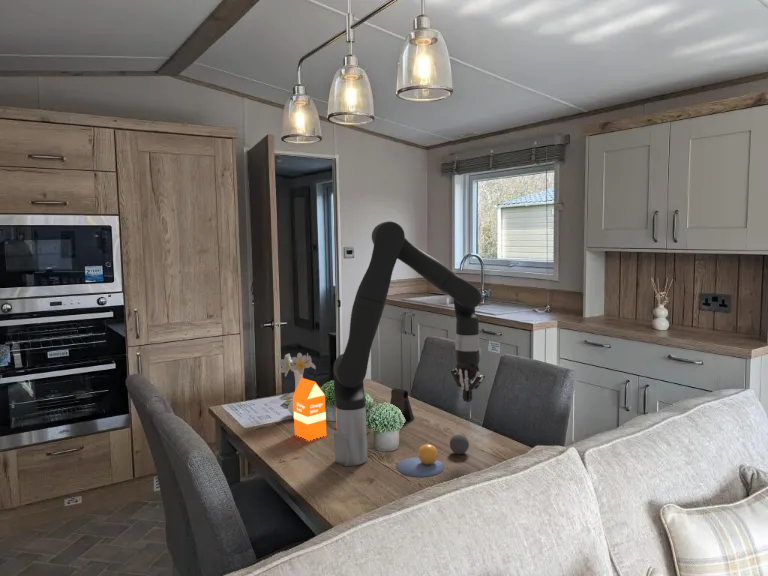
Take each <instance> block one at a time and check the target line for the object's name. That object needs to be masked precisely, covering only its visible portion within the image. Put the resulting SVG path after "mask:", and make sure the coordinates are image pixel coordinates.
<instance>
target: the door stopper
mask: <svg viewBox="0 0 768 576" xmlns="http://www.w3.org/2000/svg"><path fill="white" fill-rule="evenodd" d="M390 395H391V398H390V401H389V405H390V404H393V405H395V406H396V407H398V408H399V409H400V410H401V412H402V414H403V415H404V417H405V419H406V422H407V423H409V422H411V420H412V421H414V420H415V417H414V413H413V409H412V407H411V402H410V400H409V392H408V390H405V389H401V388H396V387H395V388H392V389H391V392H390ZM413 419H414V420H413ZM408 421H409V422H408Z"/></svg>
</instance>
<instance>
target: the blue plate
mask: <svg viewBox="0 0 768 576" xmlns="http://www.w3.org/2000/svg"><path fill="white" fill-rule="evenodd" d="M396 469H397V471H398V472H399V473H401V474H402V475H404V476H408V477H414V478H425V477H426V478H427V477H433V476H437V475H438V474H441V472H443V471H444V469H445V466H444V463H443V462H442V461H440V460H438V459H437V460H436V461H435V462H434V463H433V464H431V465H426V464H423V463H422V462H421V461H420V460H419V457H418V456H417V457H409V458H406V459H402V460H401V461H399V462H398V464H397V465H396Z"/></svg>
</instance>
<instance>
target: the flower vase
mask: <svg viewBox="0 0 768 576" xmlns="http://www.w3.org/2000/svg"><path fill="white" fill-rule="evenodd" d="M312 361H313V360H312V356H311V355H309V353H308V352H307V353H306V354H302V353H301V352H298V353H297V355H296V356H293V357H291V352H290V353H287V354H285V355H284V358H282V359H280V360H279V364H280V365H279V367H280V372H281V373H282V374H283V373H284V377H286V378H287V375H288V373H289V372H290V371H291V372H293V374H294V380H295V381H294V384H295V385H294V387H295V388H294V389H295V390H294V392H295V391H296V389H297V387H298V385H299V383H300V381H301V379H302V378H304V371H305V369H310V368H312V369H314V370H316V368H317V367H316V365H315V364H314V363H313V362H312ZM287 410H288V412H289V413H290V415H291V416H292V418H294V404H293V399H292V400H291V401H290V402H289V404H288V406H287Z"/></svg>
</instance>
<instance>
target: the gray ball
mask: <svg viewBox="0 0 768 576" xmlns="http://www.w3.org/2000/svg"><path fill="white" fill-rule="evenodd" d="M469 447H470V443H469V440H468V438H467V437H466V436H465V435H463V434H455V435H452V437H451V438H450V440H449V448H450V449H451V451H452V452H453V453H454V454H457V455H463V454H465V453H467V451H468V450H469Z"/></svg>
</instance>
